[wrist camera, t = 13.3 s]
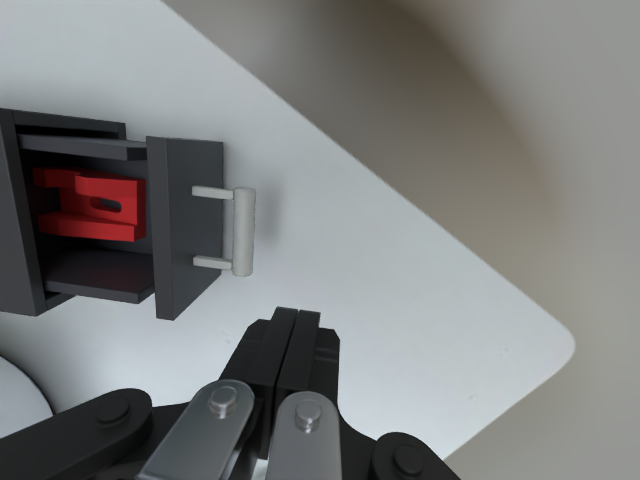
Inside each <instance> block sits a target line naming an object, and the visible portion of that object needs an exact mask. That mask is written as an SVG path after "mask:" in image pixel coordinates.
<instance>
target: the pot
mask: <svg viewBox="0 0 640 480" xmlns="http://www.w3.org/2000/svg"><path fill="white" fill-rule="evenodd" d="M52 416H53V413H52V411H51V409H50V406H49V404H48V402H47V400H46V398H45V397H44V395H43V394H42V392H41V390H40V389H39V388H38V387H37V386H36V385H35V383H34V382H33V381H32V380H31V379H30V378H29V377H28V376H27V375H26V374H25V373H24V372H23V371H21V370H20V369H19V368H18V367H17V366H15V365H14V364H12V363H11V362H9V361H8V360H6V359H5V358H3V357H1V356H0V438H3V437H5V436H7V435H10V434H12V433H14V432H17V431H19V430H22V429H24V428H26V427H29V426H31V425H33V424H36V423H38V422H40V421H43V420H45V419H47V418H50V417H52Z"/></svg>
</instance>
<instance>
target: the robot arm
mask: <svg viewBox="0 0 640 480" xmlns="http://www.w3.org/2000/svg"><path fill="white" fill-rule="evenodd" d="M320 314H321V312H314V311H307V310H299V313H298V309H292V308H285V307H277V308H276V310H275V312H274V314H273V316H272V318H271V320H264V319H258V320H257V321H256V322H254V323H253V324H251V325H250V326H248V328H247V330H246V332H245V333H244V335H243V337H242V339H241V340H240V342H239V344H238V346H237V348H236V349H235V351H234V353H233V354H232V356H231V358H230V360H229V362H228V363H227V365H226V367H225V369H224V370H223V372H222V374H221V376H220V377H219V379H218V381H214V382H212V383H210V384H208V385H206V386H204V387H203V388H201V389H200V390H199V391H198V392H197V393H196V394H195V396H194V397H193V398H192V400H191V401H190V402H186V403H182V404H175V405H166V406H158V407H152V400H151V398H150V396H149V395H148V394H147V393H146V392H145V391H142V390H140V389H134V388H126V389H119V390H115V391H111V392H109V393H106V394H103V395H101V396H99V397H96V398H94V399H92V400H89V401H87V402H85V403H82V404H80V405H78V406H75V407H73V408H71V409H68V410H66V411H64V412H61V413H59V414H57V415H54V416H52V417H50V418H47V419H45V420H43V421H40V422H38V423H36V424H33V425H31V426H29V427H26V428H24V429H22V430H19V431H17V432H14V433H12V434H10V435H7V436H5V437H3V438H0V480H251V479H252V476H253V473H254V469H255V466H256V463H257V459H261V460H267V461H268V466H267V471H266V477H265V480H461V479H460V478H459V477H458V476H457V475H456V474H455V473H454V472H453V471H452V470H451V469H450V468H449V467H448V466H447V465H446V464H445V463H444V462H443V461H442V460H441V459H440V458H439V457H438V456H437V455H436V454H435V453H434V452H433V451H432V450H431V449H430V448H429V447H428V446H427V445H426V444H425V443H424V442H422V441H421V440H419V439H418V438H416V437H414V436H411V435H409V434H406V433H401V432H391V433H387V434H384V435H382V436H381V437H380V438H379V439H378V440H377V441H376V440H374V439H372V438H370V437H367V436H365V435H363V434H361V433H359V432H358V431H356V430H355V429H353V428H352V427H351V426H350V425H349V424H347V422H346V421H345V420H344V419H343V417H342V416H341V414H340V412H339V409H338V403H337V397H338V374H339V350H340V339H339V337H338V336H337V334H336V332H335V330H334V329H327V328H320V327H319V323H320ZM268 457H269V460H268Z"/></svg>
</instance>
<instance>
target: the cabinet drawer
mask: <svg viewBox="0 0 640 480" xmlns="http://www.w3.org/2000/svg"><path fill="white" fill-rule="evenodd" d="M15 131H16V137H17V143H18V148H19V154H20V160H21V165H22V171H23V177H24V182H25V188H26V194H27V199H28V205H29V211H30V216H31V222H32V227H33V233H34V239H35V244H36V250H37V256H38V261H39V267H40V273H41V278H42V284H43V290H45V291H52V292H59V293H66V294H73V295H79V296H86V297H93V298H100V299H107V300H113V301H120V302H127V303H134V304H139V303H141V302H142V301H143V300H145V299H146V298H147V297H149V296H150V295H151V294H153V293H154V292H155V301H156V318H158V319H165V320H172V321H174V320H175V319H176V318H177V317H178V316H179V315H180V314H181V313H182V312H183V311H184V310H185V309H186V308H187V307H188V306H189V305H190V304H191V303H192V302H193V301H194V300H195V299H196V298H197V297H198V296H200V295H201V294H202V293H203V292H204V291H205V290H206V289H207V288H208V287H209V286H210V285H211V284H212V283H213V282H214V281H215V280H216V279H217V278H218V277H219V276H220V275H221V269H225V270H232V273H233V274H234V275H235V276H239V277H245V276H249V275H251V274H252V270H253V248H254V226H255V204H256V190H255V189H252V188H235V189H234V190H229V189H222V180H223V142H218V141H209V140H195V139H181V138H167V137H152V136H146V143H145V142H137V141H128V140H119V139H111V138H102V137H93V136H85V135H76V134H67V133H57V132H41V131H24V130H15ZM67 165H70V166H75V167H81V168H86V169H91V170H97V171H102V172H107V173H113V174H118V175H123V176H129V177H134V178H139V179H145V180H146V237H144V238H141V239H139V240H137V241H134V242H133V241H121V240H108V239H96V238H84V237H71V236H59V235H54V234H49V233H44V232H39V225H38V216H37V215H41V214H46V213H50V212H55V211H60V210H61V206H60V195H59V187H47V188H46V187H40V186H35V185H34V180H33V171H32V167H48V166H67ZM222 199H226V200H234V217H233V258H232V260H229V259H222ZM100 202H101V204H102V205H103V206H105V207H111V208H116V209H121V210H122V206H121V204H120V203H119V202H118V201H114V200H109V199H104V198H100Z"/></svg>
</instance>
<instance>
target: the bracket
mask: <svg viewBox="0 0 640 480" xmlns="http://www.w3.org/2000/svg"><path fill="white" fill-rule="evenodd" d="M32 171H33V180H34V185H35V186H40V187H46V188H47V187H59V195H60V206H61V210H60V211H55V212H50V213H46V214H41V215H37V216H38V225H39V232H44V233H49V234H54V235H59V236H71V237H84V238H96V239H108V240H121V241H133V242H134V241H137V240H139V239H141V238H144V237H146V180H145V179H139V178H134V177H129V176H123V175H118V174H113V173H107V172H102V171H97V170H91V169H86V168H81V167H75V166H70V165H67V166H48V167H32ZM100 198H104V199H109V200H114V201H118V202H119V203H120V204H121V206H122V210H121V209H116V208H111V207H105V206H103V205H102V204H101V202H100Z"/></svg>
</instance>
